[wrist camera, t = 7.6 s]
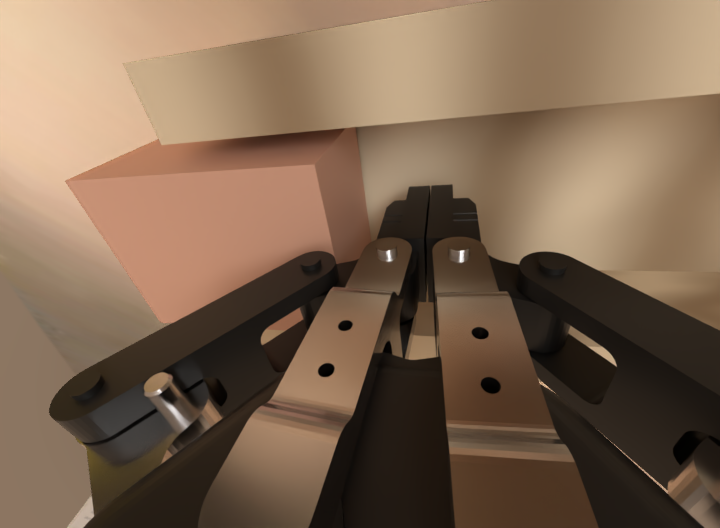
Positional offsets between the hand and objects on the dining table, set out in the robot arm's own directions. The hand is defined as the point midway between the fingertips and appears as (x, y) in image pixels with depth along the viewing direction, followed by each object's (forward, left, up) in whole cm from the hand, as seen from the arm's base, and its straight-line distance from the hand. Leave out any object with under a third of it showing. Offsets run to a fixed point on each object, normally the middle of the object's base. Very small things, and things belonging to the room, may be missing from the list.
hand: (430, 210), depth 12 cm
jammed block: (+7, 0, -1) cm, 7 cm away
